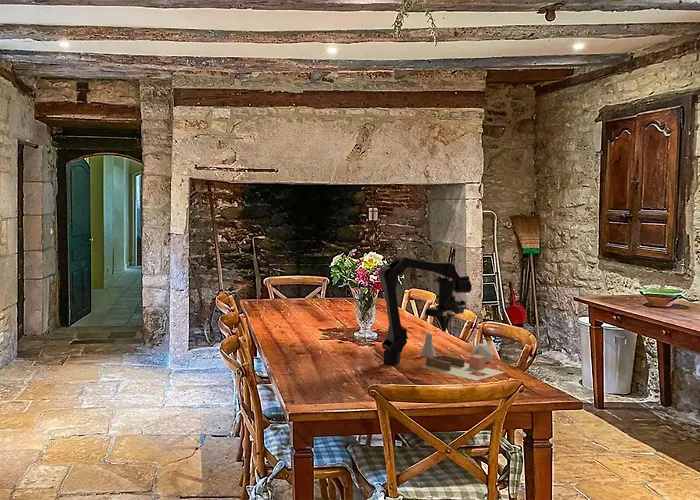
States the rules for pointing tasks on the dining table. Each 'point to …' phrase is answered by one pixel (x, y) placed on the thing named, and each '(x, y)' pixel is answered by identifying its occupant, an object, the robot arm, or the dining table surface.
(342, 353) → the dining table surface
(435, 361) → the cubby
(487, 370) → the board
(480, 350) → the die
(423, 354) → the flask
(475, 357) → the block
